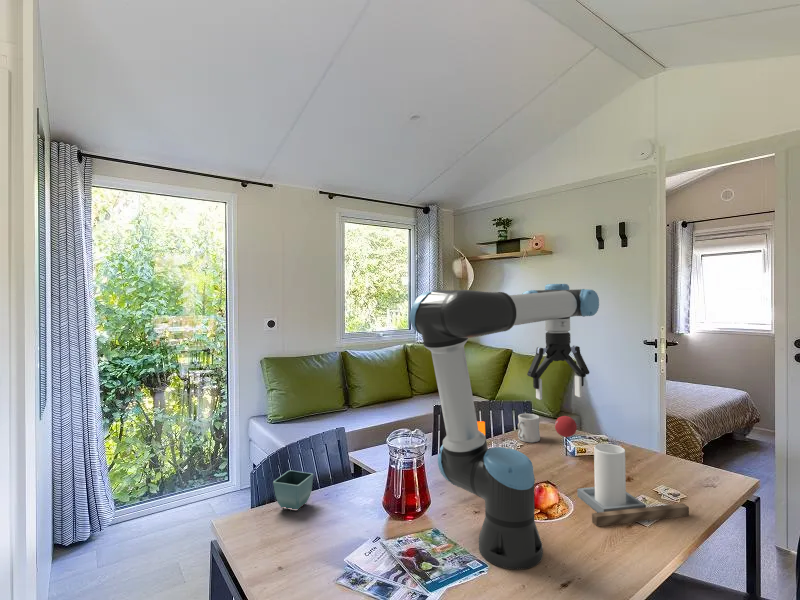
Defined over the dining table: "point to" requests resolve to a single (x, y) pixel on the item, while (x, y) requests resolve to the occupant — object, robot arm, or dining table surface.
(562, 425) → the lollipop
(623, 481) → the cup
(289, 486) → the flower pot
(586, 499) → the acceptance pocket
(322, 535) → the dining table surface
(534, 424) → the mug
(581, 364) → the robot arm
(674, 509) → the door edge rail
